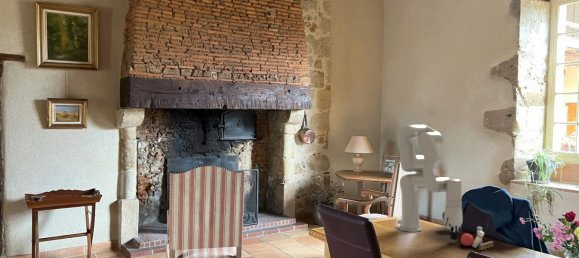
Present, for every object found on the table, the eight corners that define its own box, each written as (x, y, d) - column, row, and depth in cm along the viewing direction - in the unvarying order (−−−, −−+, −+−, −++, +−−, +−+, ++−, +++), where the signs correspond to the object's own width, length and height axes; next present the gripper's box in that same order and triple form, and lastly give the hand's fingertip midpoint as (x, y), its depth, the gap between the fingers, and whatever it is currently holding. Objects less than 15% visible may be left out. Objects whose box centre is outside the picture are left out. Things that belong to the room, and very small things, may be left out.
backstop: (478, 250, 214) (478, 245, 214) (491, 246, 221) (491, 241, 221) (481, 250, 213) (481, 245, 213) (493, 246, 220) (493, 241, 220)
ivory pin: (470, 244, 219) (478, 231, 216) (473, 243, 221) (481, 230, 217) (474, 248, 218) (482, 234, 214) (477, 247, 219) (485, 233, 216)
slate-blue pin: (476, 244, 225) (476, 227, 225) (478, 243, 226) (478, 226, 226) (480, 245, 223) (480, 228, 223) (483, 244, 224) (483, 227, 224)
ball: (469, 237, 217) (468, 249, 218) (476, 234, 221) (475, 246, 222) (458, 233, 222) (457, 244, 223) (466, 230, 225) (465, 241, 226)
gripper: (455, 200, 235) (455, 235, 236) (438, 204, 226) (438, 240, 227) (468, 202, 229) (468, 238, 230) (451, 206, 220) (451, 243, 221)
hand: (453, 239), depth 228 cm, fingers closed
